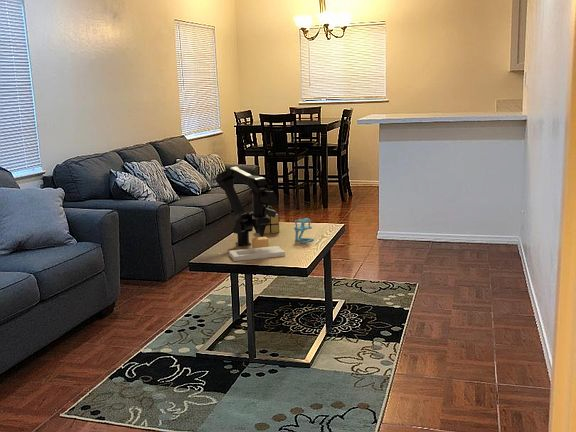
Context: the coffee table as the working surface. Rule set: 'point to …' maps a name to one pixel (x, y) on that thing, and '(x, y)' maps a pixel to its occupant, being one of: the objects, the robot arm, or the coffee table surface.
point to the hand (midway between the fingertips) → (259, 234)
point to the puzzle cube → (272, 225)
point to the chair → (302, 230)
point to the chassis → (256, 253)
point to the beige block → (260, 242)
